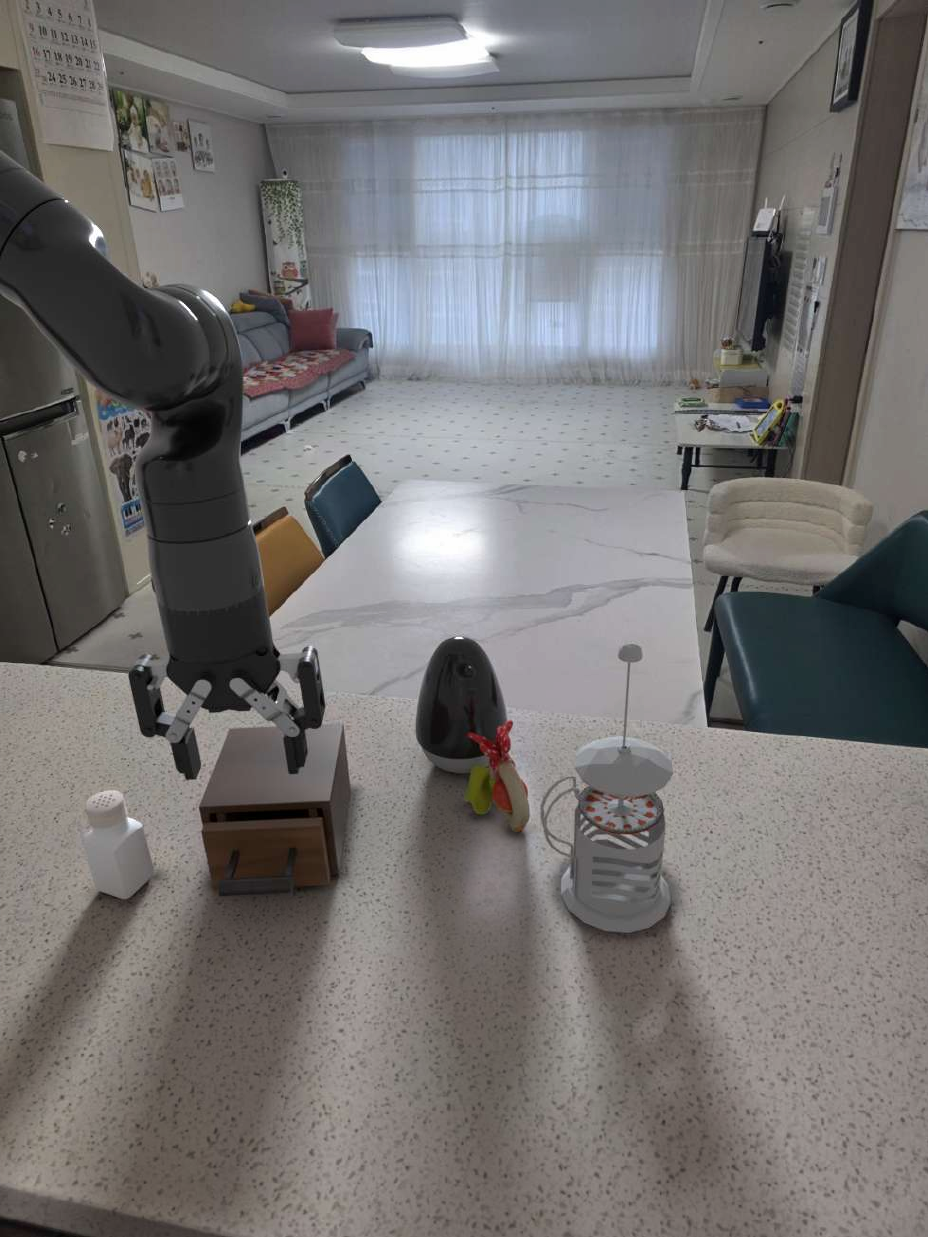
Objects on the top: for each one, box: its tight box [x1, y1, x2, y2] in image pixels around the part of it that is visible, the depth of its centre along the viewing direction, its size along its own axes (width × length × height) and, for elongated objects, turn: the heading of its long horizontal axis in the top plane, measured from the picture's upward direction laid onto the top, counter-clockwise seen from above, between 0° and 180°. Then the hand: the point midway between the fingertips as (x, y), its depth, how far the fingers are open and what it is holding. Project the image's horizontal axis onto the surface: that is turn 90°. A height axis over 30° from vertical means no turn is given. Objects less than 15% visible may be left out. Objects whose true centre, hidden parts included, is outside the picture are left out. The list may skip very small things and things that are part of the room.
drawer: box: [200, 808, 331, 898], centre depth 76 cm, size 16×10×7 cm, turn 2°
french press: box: [539, 641, 674, 934], centre depth 68 cm, size 10×12×25 cm
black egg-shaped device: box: [415, 635, 509, 774], centre depth 89 cm, size 10×10×15 cm
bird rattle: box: [464, 719, 531, 832], centre depth 81 cm, size 6×11×9 cm
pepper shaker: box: [81, 789, 155, 900], centre depth 75 cm, size 4×4×10 cm
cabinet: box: [198, 722, 352, 876], centre depth 80 cm, size 13×12×9 cm
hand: (244, 771), depth 66 cm, fingers open, 7 cm apart
